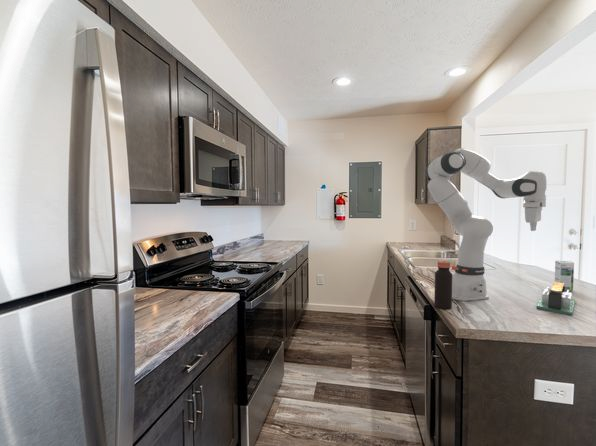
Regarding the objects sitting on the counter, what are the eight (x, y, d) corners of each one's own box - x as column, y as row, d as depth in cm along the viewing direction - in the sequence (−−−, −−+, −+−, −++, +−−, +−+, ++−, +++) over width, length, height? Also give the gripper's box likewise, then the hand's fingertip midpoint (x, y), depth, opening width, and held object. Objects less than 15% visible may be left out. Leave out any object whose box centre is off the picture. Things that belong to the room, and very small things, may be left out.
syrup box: (559, 289, 148) (560, 262, 147) (553, 286, 154) (555, 259, 153) (573, 290, 146) (574, 262, 145) (567, 287, 152) (568, 260, 151)
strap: (561, 294, 119) (562, 291, 119) (549, 292, 122) (549, 289, 122) (565, 284, 131) (565, 282, 131) (553, 283, 134) (553, 280, 134)
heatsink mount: (572, 315, 115) (573, 298, 114) (536, 308, 123) (537, 292, 122) (575, 301, 131) (575, 286, 130) (543, 296, 138) (544, 281, 138)
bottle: (444, 310, 121) (445, 264, 120) (430, 305, 128) (431, 261, 126) (455, 308, 124) (456, 262, 123) (441, 303, 130) (442, 259, 129)
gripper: (529, 203, 155) (528, 228, 156) (522, 203, 141) (521, 231, 142) (545, 203, 150) (544, 229, 151) (539, 203, 136) (538, 232, 137)
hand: (533, 230), depth 146 cm, fingers closed
